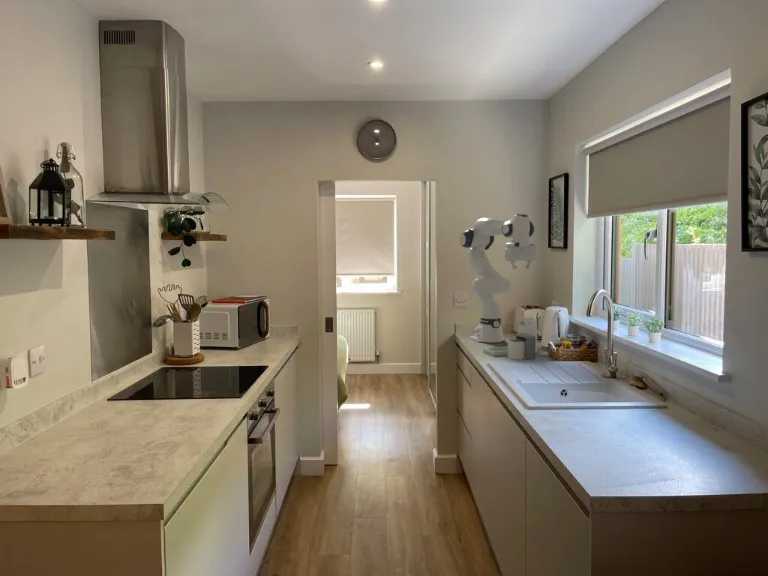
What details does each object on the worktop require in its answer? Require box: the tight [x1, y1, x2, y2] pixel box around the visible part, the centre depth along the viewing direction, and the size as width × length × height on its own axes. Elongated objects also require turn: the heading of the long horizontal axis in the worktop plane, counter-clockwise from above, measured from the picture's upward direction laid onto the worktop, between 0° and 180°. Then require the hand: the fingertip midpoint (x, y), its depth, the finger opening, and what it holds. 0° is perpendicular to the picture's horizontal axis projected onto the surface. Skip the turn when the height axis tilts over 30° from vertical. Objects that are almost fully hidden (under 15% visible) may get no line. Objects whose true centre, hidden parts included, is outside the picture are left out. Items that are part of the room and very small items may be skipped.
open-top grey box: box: [514, 333, 536, 360], centre depth 288 cm, size 10×6×12 cm, turn 21°
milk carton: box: [517, 316, 538, 354], centre depth 301 cm, size 7×7×19 cm
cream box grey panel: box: [507, 338, 526, 360], centre depth 287 cm, size 5×10×10 cm, turn 111°
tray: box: [482, 345, 508, 357], centre depth 299 cm, size 11×16×2 cm
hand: (521, 268), depth 301 cm, fingers open, 8 cm apart
